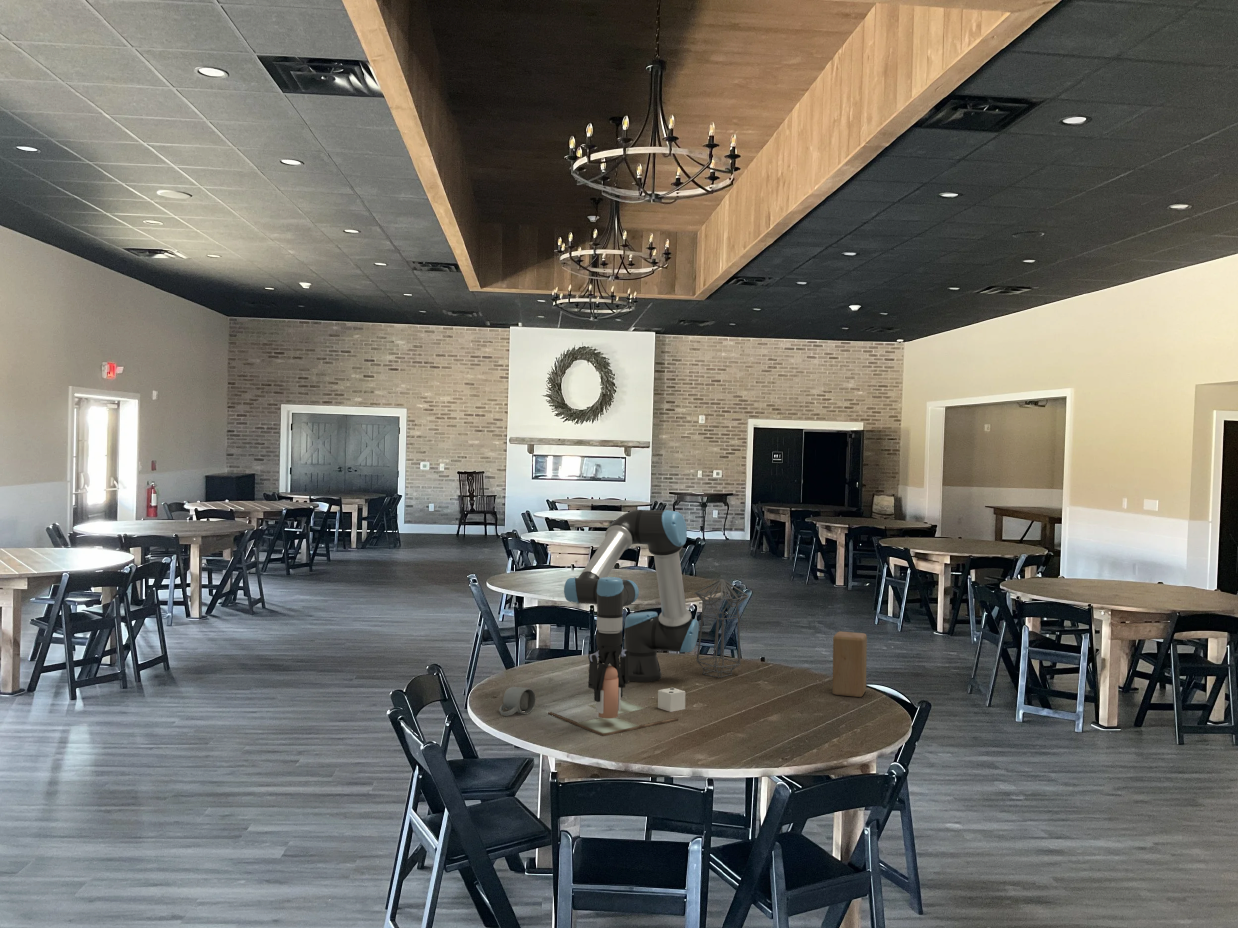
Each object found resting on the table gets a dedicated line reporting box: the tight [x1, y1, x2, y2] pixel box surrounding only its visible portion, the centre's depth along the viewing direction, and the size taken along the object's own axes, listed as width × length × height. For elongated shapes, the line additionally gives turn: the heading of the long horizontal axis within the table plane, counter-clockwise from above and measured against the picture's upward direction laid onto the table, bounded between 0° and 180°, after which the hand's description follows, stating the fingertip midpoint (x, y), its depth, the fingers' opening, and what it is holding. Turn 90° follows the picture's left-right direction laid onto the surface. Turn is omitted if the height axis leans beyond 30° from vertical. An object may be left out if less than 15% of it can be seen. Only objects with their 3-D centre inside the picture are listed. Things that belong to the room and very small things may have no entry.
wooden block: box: [832, 630, 868, 698], centre depth 314 cm, size 10×10×20 cm
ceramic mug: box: [499, 686, 537, 717], centre depth 283 cm, size 11×8×8 cm
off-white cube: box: [657, 687, 686, 713], centre depth 288 cm, size 6×6×6 cm
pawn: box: [598, 664, 619, 718], centre depth 270 cm, size 6×6×15 cm
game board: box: [547, 699, 679, 737], centre depth 279 cm, size 28×28×1 cm
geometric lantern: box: [693, 578, 749, 679], centre depth 339 cm, size 16×16×35 cm
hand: (608, 710), depth 270 cm, fingers closed on pawn, 5 cm apart
